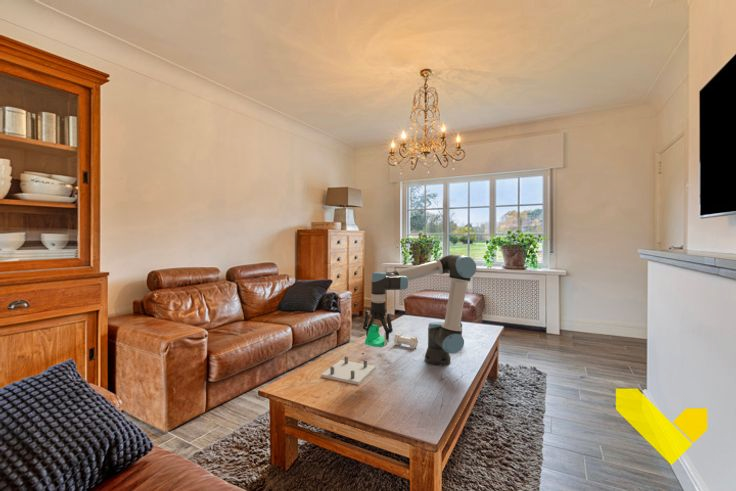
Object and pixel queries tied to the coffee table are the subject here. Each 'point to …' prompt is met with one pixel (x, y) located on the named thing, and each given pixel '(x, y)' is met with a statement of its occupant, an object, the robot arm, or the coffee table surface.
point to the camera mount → (374, 337)
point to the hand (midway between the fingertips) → (377, 344)
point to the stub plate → (349, 371)
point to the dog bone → (405, 340)
